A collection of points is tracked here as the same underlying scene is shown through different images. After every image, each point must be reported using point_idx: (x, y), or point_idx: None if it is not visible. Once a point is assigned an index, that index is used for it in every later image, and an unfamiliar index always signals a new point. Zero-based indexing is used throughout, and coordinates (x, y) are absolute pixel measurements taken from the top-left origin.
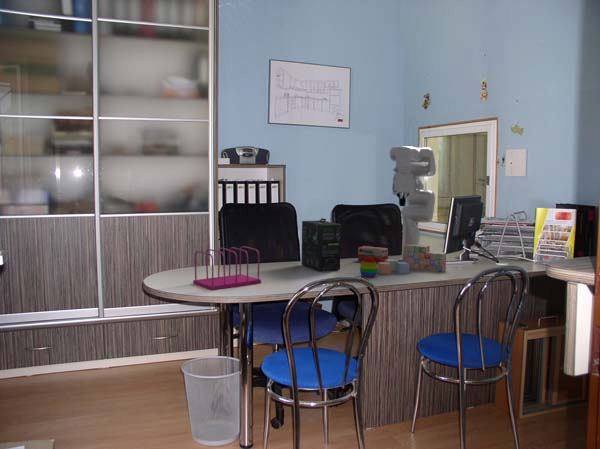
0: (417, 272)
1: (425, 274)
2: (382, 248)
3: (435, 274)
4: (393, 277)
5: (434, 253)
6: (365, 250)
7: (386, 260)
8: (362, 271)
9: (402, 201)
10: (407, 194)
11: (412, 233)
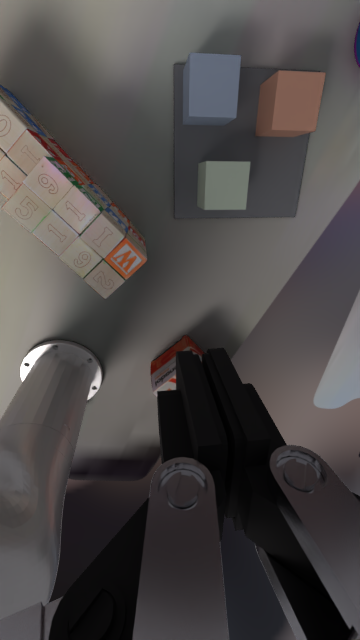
0: (126, 111)
1: (109, 43)
2: (175, 388)
3: (59, 27)
4: (284, 2)
5: (5, 109)
6: None
7: (247, 189)
8: None
9: (242, 393)
10: (114, 610)
11: (33, 426)
